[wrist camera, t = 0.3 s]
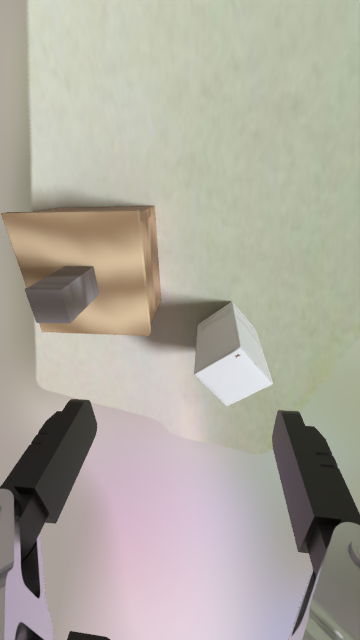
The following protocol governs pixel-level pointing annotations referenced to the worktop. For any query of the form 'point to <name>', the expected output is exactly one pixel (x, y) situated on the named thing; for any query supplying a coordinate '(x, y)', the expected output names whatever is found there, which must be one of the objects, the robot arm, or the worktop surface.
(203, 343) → the supplement box
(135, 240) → the lid
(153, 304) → the box
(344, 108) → the worktop surface
